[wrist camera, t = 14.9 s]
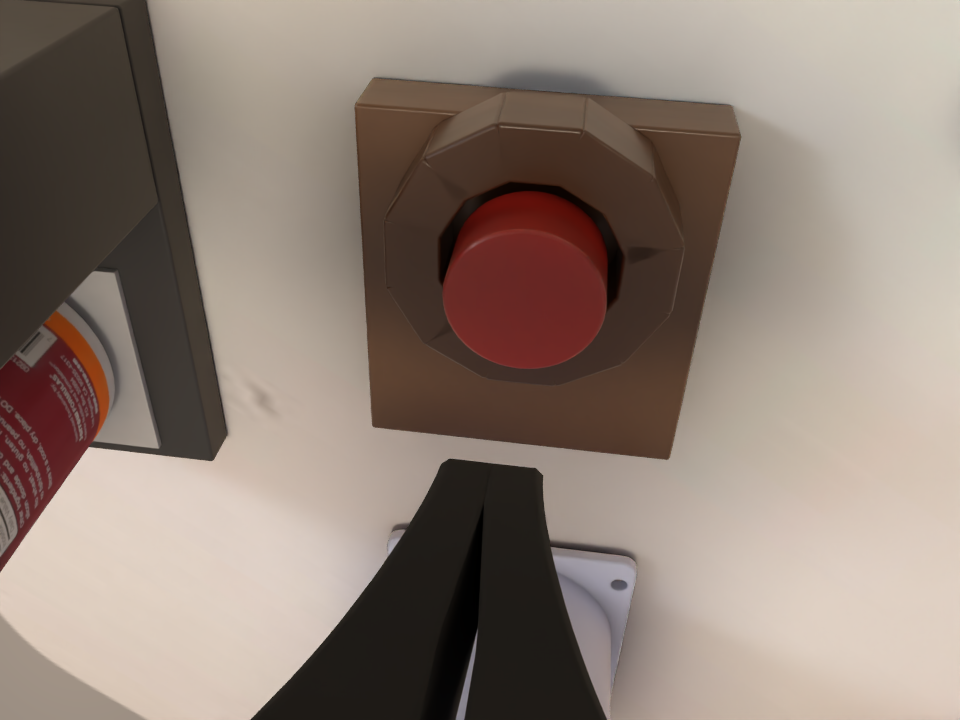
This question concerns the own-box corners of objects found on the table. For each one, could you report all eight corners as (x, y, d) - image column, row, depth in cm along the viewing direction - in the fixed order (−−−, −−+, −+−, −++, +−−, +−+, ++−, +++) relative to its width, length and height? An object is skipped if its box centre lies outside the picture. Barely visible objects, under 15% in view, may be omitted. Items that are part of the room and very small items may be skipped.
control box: (666, 419, 24) (672, 511, 22) (384, 389, 25) (355, 474, 22) (738, 78, 19) (760, 143, 16) (370, 51, 19) (328, 109, 16)
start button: (598, 329, 19) (596, 378, 18) (454, 315, 19) (441, 362, 18) (617, 196, 17) (617, 238, 16) (456, 182, 17) (441, 222, 16)
